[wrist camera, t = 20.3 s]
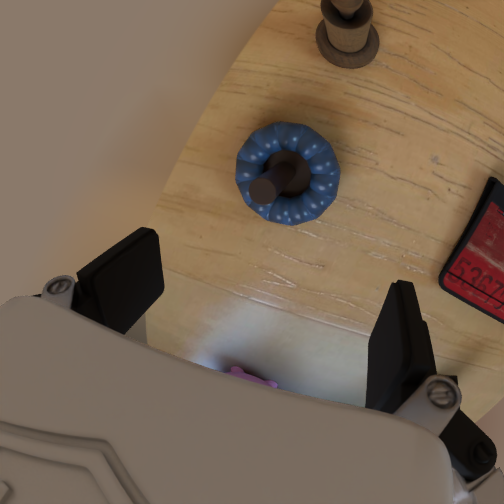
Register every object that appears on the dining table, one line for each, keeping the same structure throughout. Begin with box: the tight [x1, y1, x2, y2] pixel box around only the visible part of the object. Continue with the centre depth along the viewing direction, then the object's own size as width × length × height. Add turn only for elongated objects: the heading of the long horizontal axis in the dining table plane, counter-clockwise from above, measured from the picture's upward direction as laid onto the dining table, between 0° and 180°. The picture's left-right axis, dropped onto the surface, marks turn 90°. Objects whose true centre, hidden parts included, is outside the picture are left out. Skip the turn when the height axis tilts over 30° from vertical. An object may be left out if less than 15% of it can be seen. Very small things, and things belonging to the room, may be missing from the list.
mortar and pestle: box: [316, 0, 379, 69], centre depth 15 cm, size 7×6×18 cm
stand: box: [249, 150, 311, 205], centre depth 28 cm, size 8×8×10 cm
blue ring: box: [235, 121, 341, 226], centre depth 30 cm, size 11×11×3 cm
